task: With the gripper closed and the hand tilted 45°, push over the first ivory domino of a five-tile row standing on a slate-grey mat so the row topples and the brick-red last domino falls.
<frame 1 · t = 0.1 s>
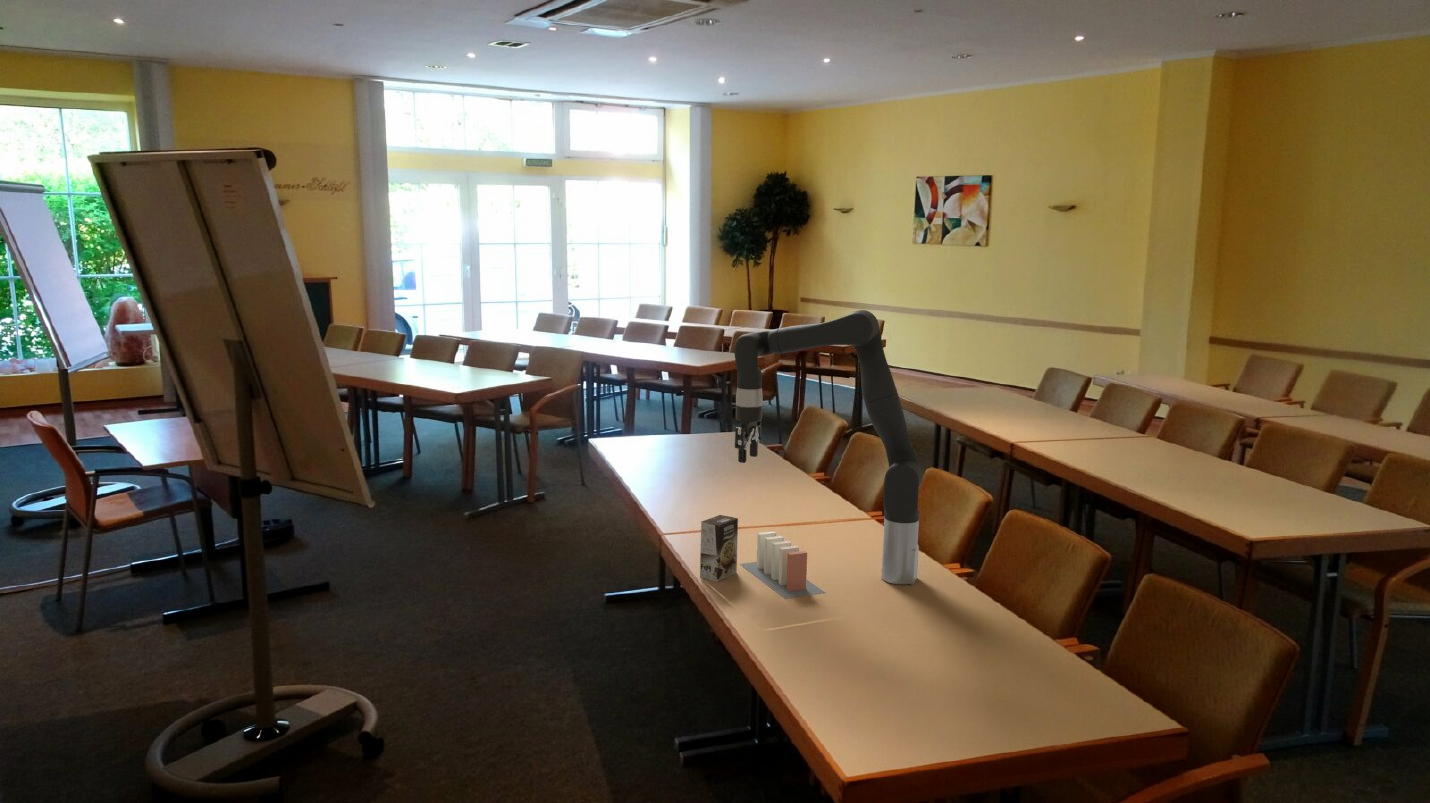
hand: (748, 459, 274), 29 cm above the table, tool pointing down, fingers open, 8 cm apart
domino 2: (773, 572, 266), resting on mat
mat: (780, 579, 262), on the table
domino 3: (780, 577, 261), resting on mat
domino 4: (788, 583, 257), resting on mat
domino 5: (796, 588, 253), resting on mat
domino 1: (765, 566, 270), resting on mat
coffee box: (718, 576, 263), on the table
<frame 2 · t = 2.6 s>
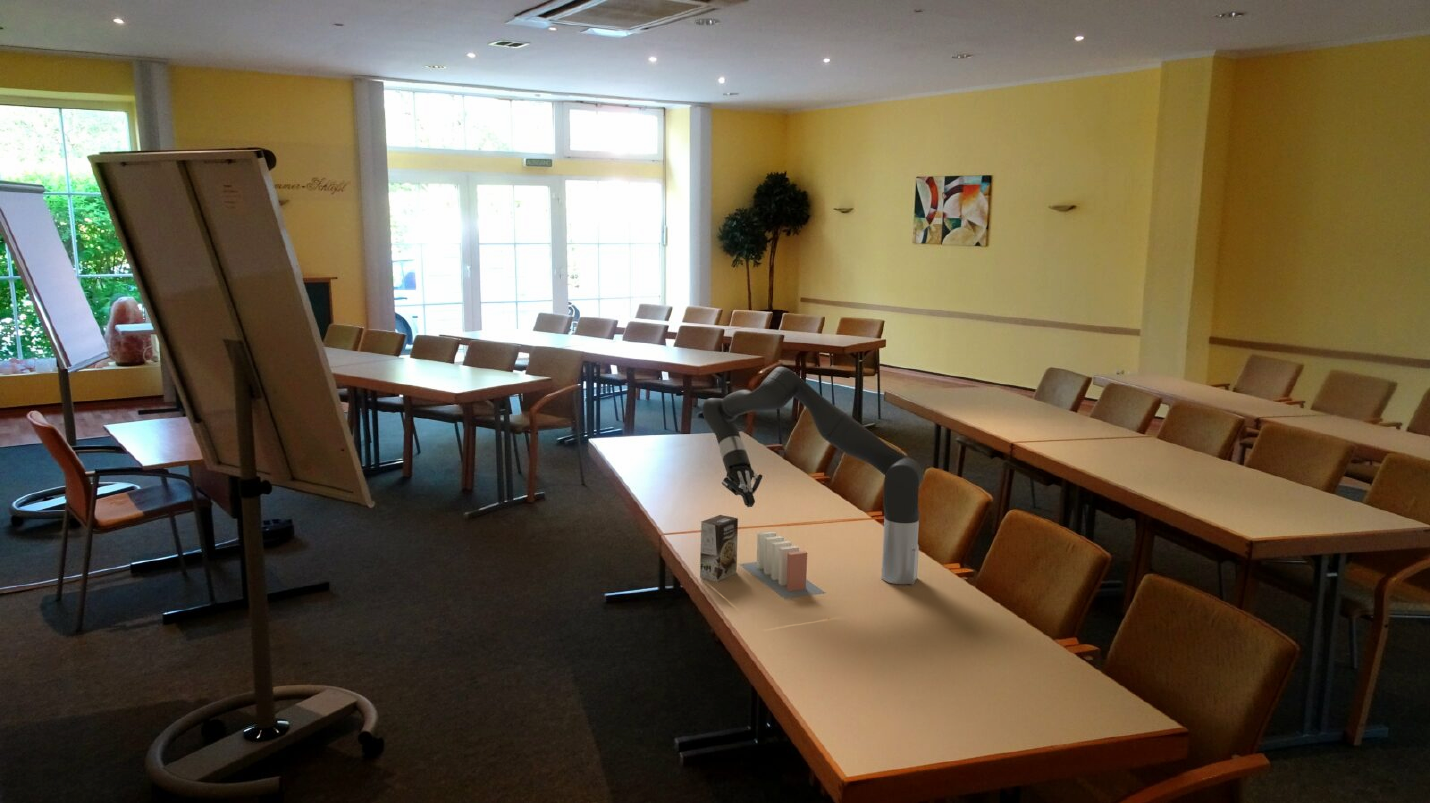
hand: (750, 505, 276), 15 cm above the table, tool tilted 45°, fingers closed
nothing on the table moved.
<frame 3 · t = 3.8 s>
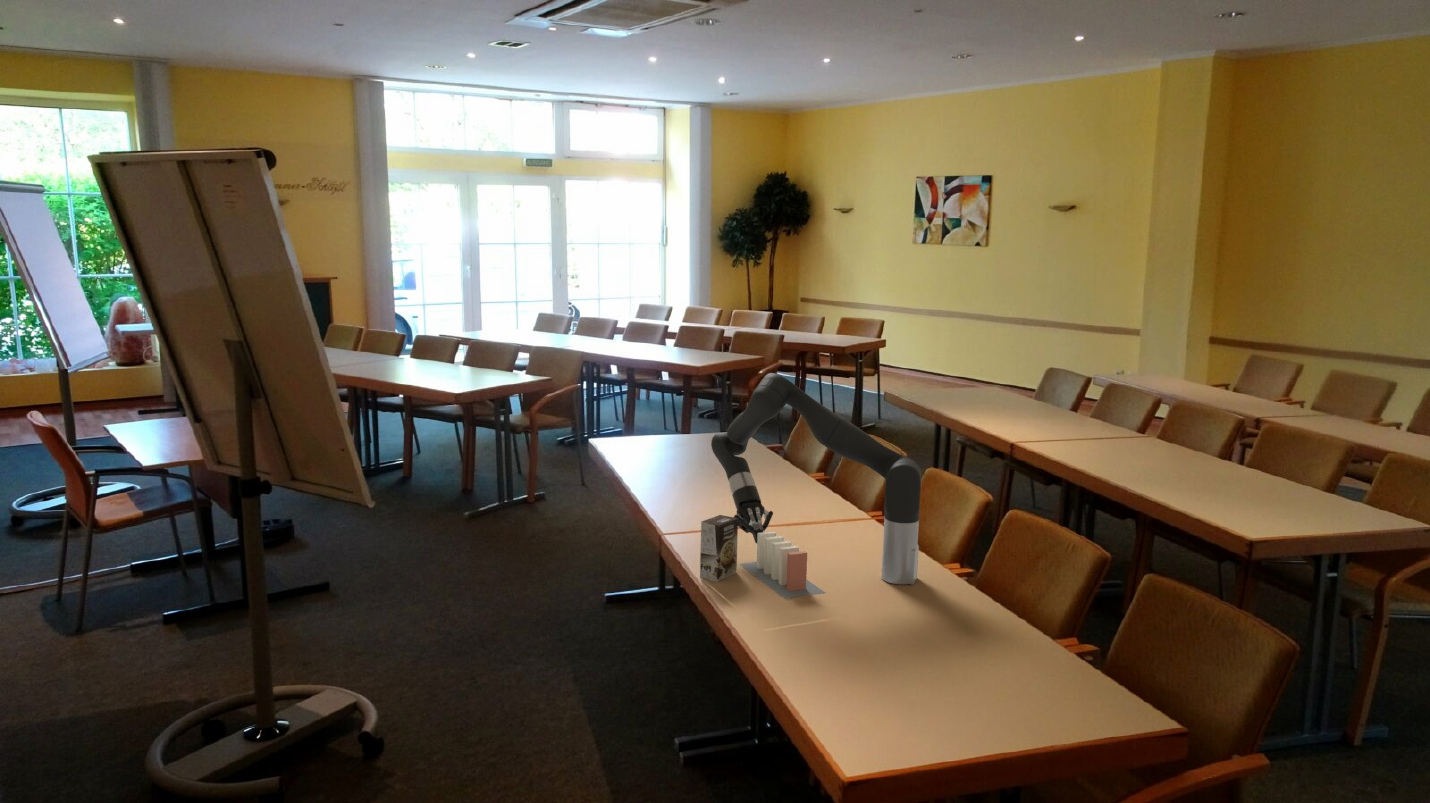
hand: (761, 543, 272), 6 cm above the table, tool tilted 45°, fingers closed
nothing on the table moved.
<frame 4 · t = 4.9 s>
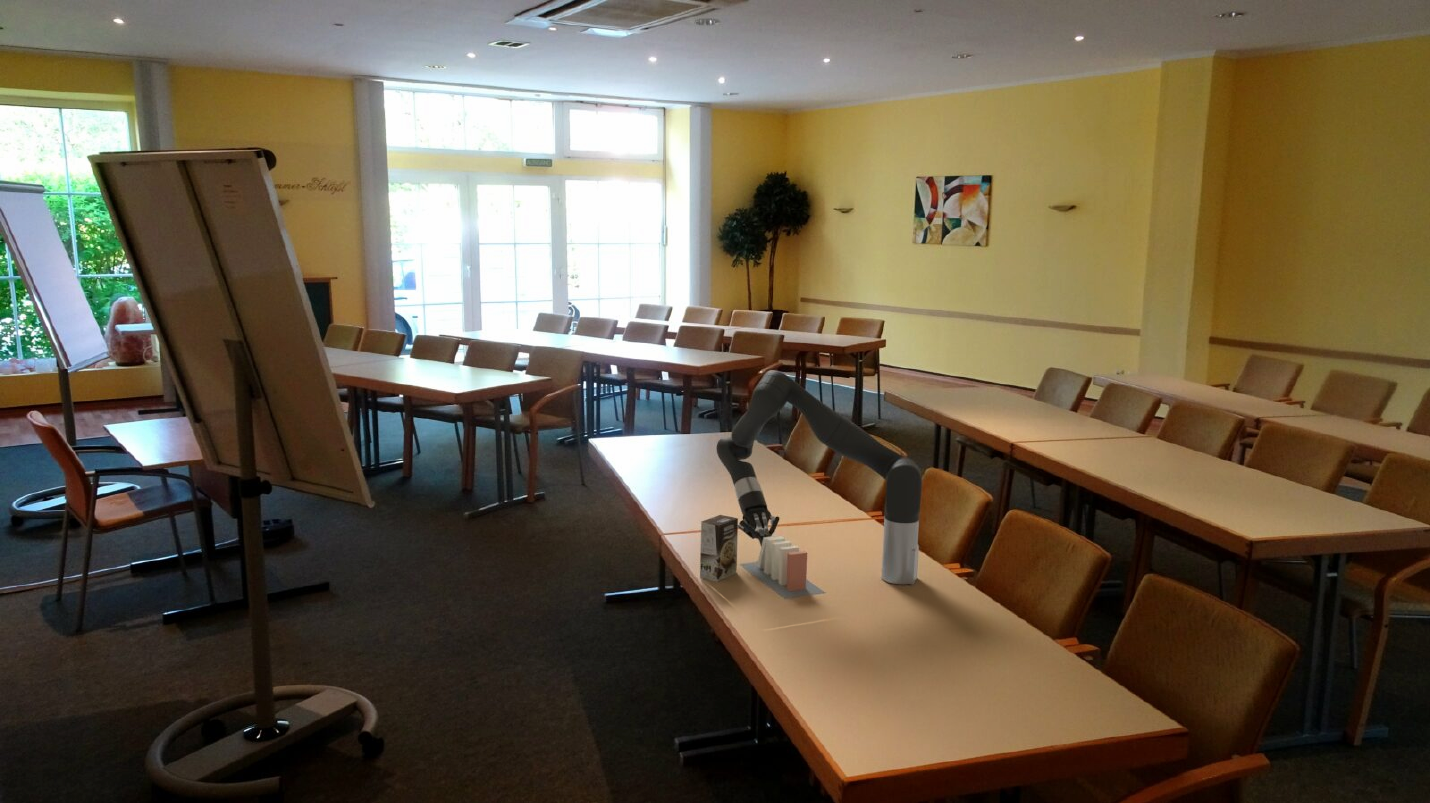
hand: (767, 549, 268), 6 cm above the table, tool tilted 45°, fingers closed
domino 1: (766, 566, 269), point 1 cm above the table, tilted 21°, touching mat
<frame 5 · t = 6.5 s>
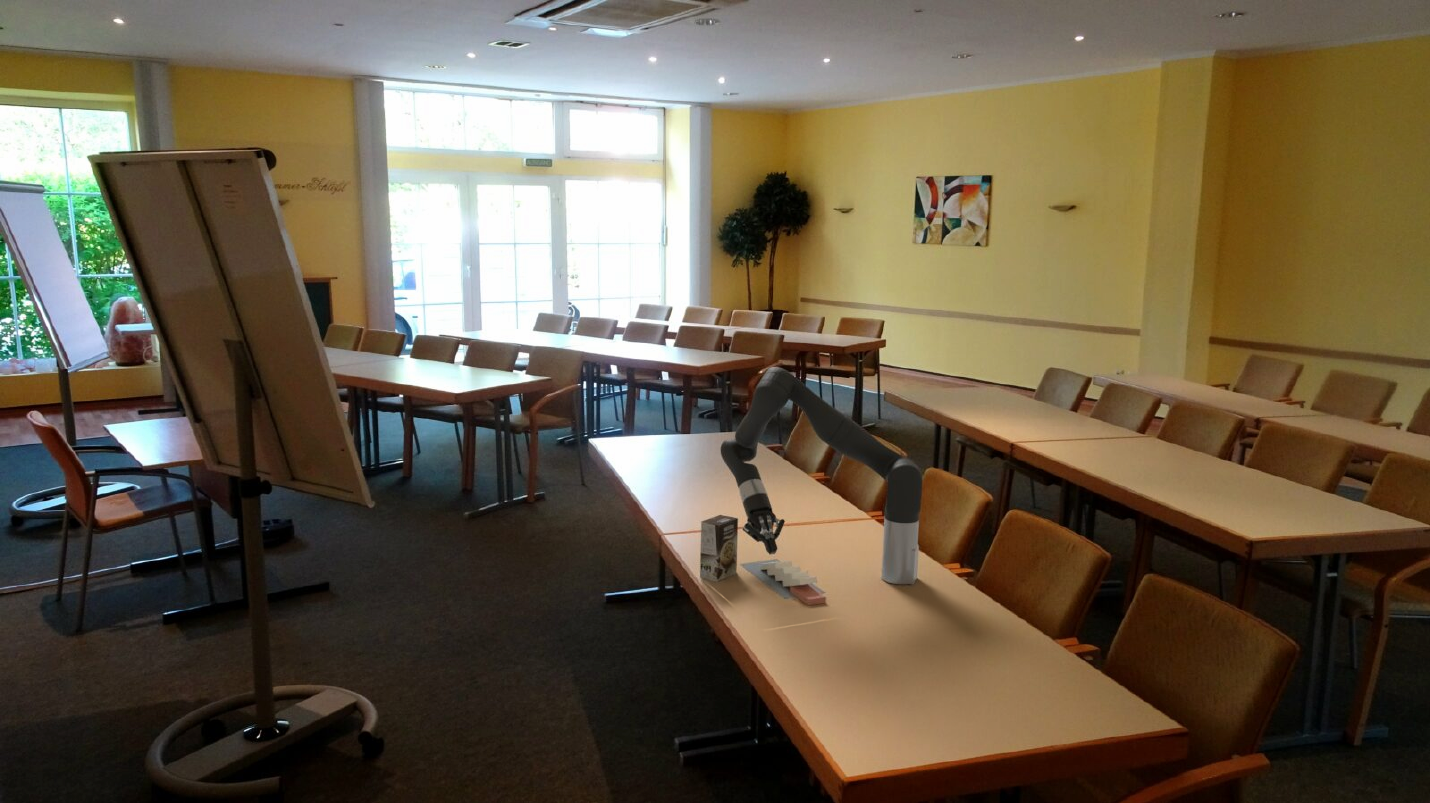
hand: (773, 552, 265), 6 cm above the table, tool tilted 45°, fingers closed
domino 2: (775, 571, 264), point 1 cm above the table, tilted 69°, touching domino 1, domino 3, mat
domino 3: (783, 576, 260), point 1 cm above the table, tilted 68°, touching domino 2, domino 4, mat
domino 4: (791, 582, 256), point 1 cm above the table, tilted 68°, touching domino 3, domino 5
domino 5: (798, 587, 252), point 1 cm above the table, tilted 90°, touching domino 4, mat
domino 1: (767, 565, 269), point 1 cm above the table, tilted 70°, touching domino 2, mat
everything else where it was.
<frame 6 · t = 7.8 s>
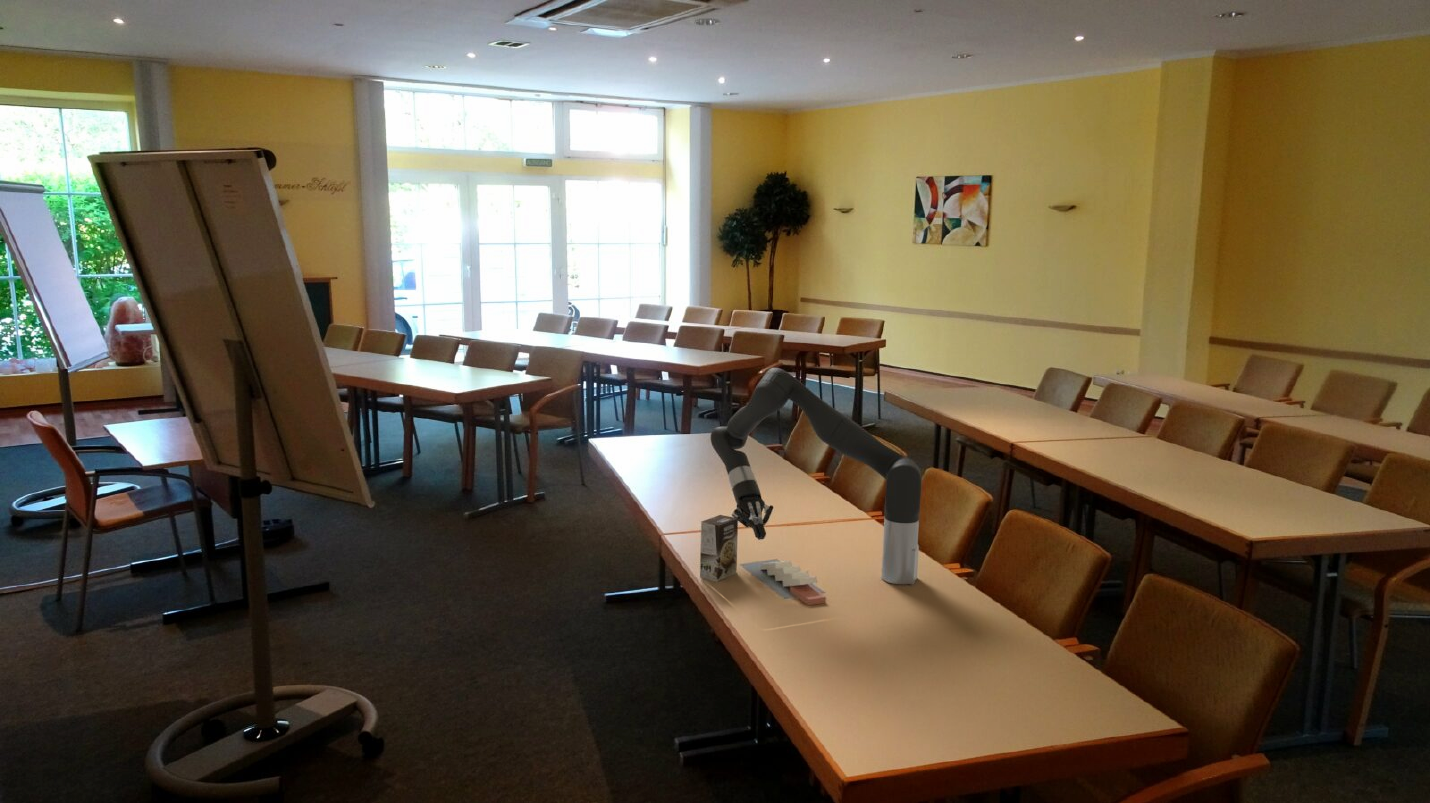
hand: (761, 538, 269), 8 cm above the table, tool tilted 45°, fingers closed
nothing on the table moved.
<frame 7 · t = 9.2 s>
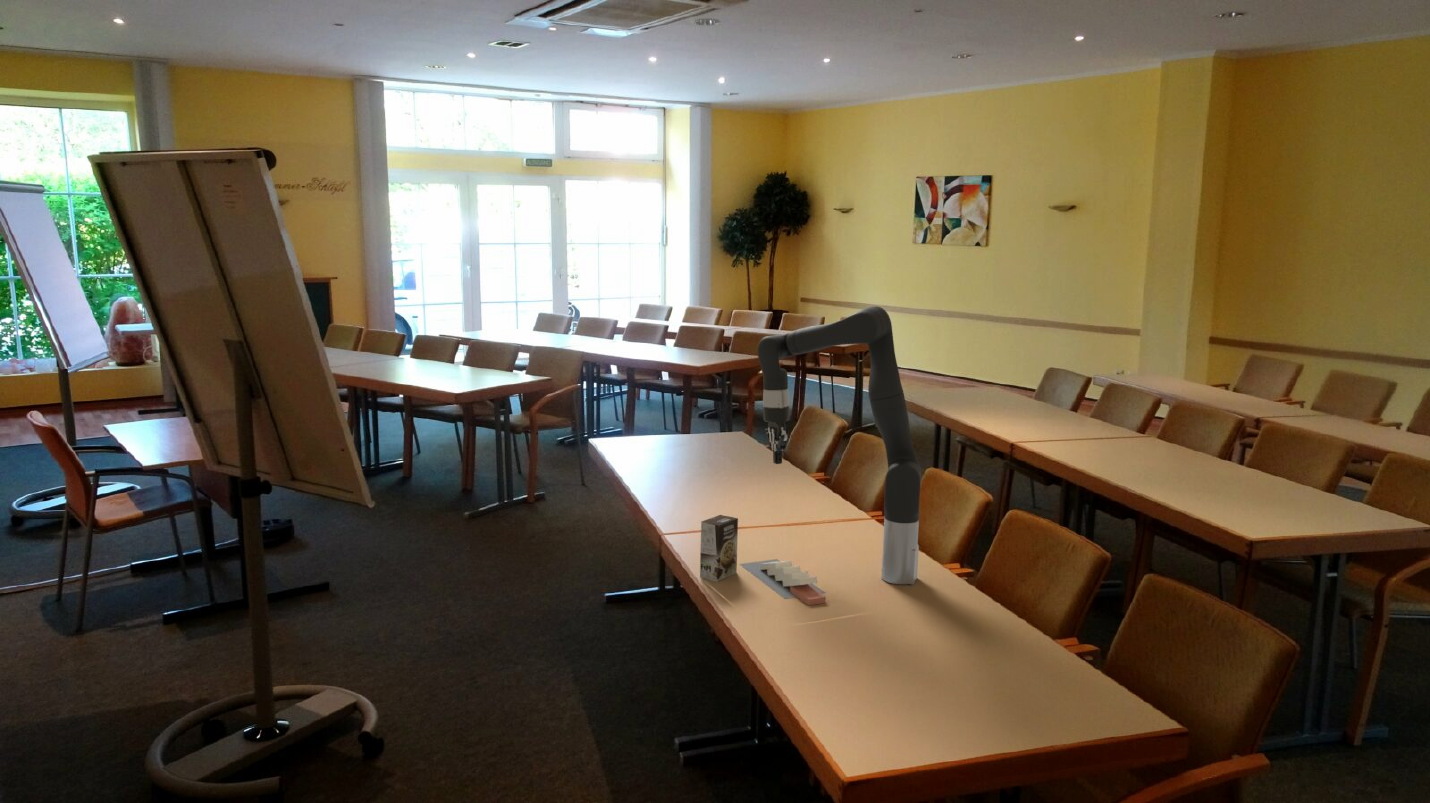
hand: (777, 463, 279), 27 cm above the table, tool pointing down, fingers closed
nothing on the table moved.
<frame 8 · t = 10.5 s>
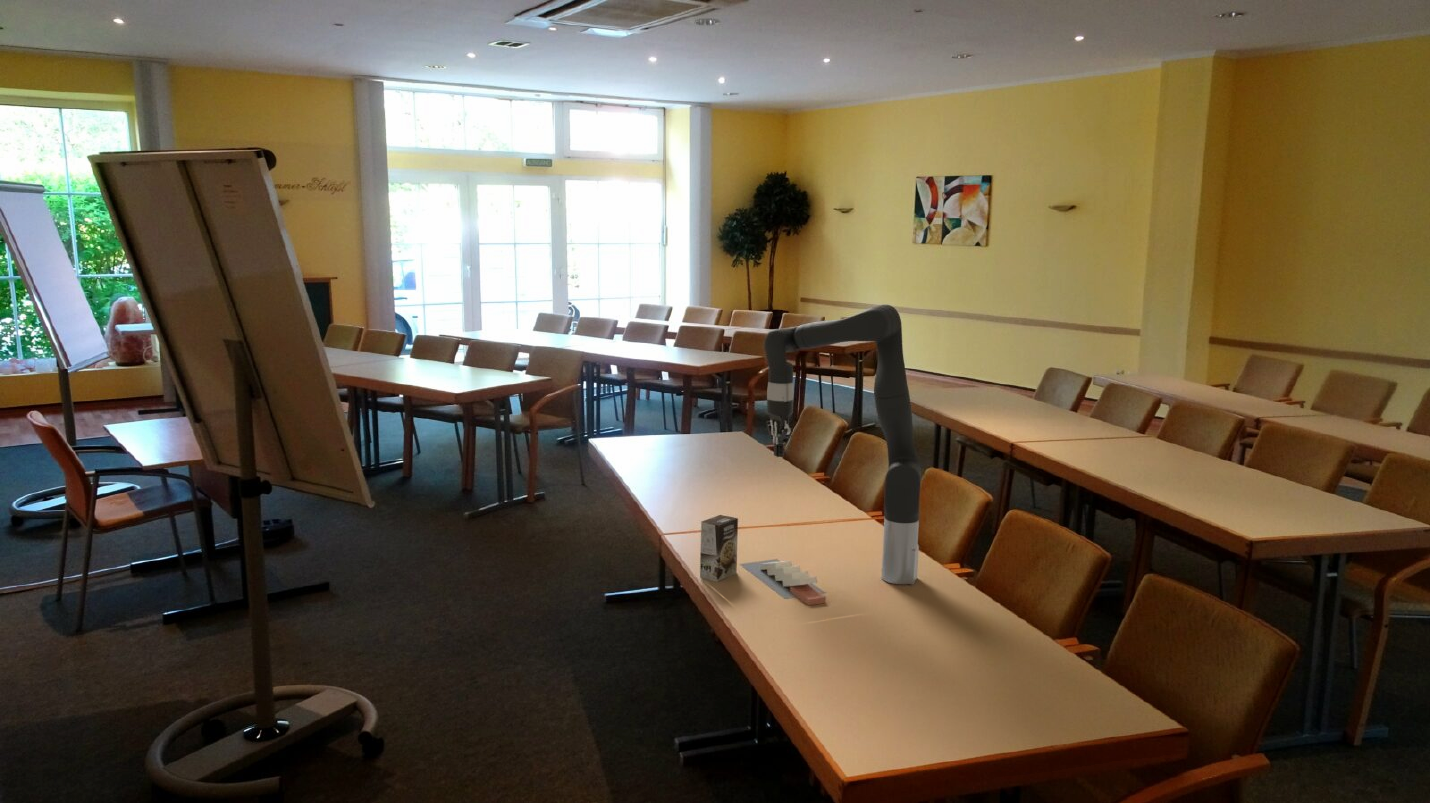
hand: (778, 456, 279), 29 cm above the table, tool pointing down, fingers closed
nothing on the table moved.
at the end: domino 5 tilted 90°; domino 1 tilted 70° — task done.
